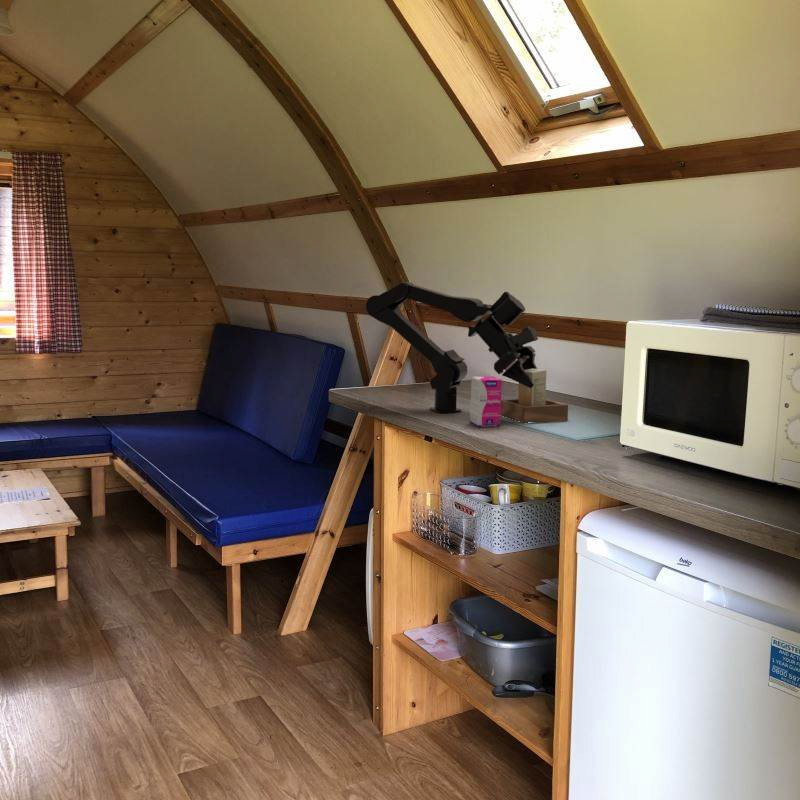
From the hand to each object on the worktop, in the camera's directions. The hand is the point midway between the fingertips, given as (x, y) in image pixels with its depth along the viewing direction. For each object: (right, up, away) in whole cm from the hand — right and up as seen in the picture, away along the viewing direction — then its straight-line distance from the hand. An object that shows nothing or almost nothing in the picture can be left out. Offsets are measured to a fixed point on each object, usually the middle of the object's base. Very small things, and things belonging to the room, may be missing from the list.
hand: (537, 384), depth 221 cm
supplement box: (-14, -10, -8) cm, 19 cm away
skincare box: (-1, -9, +2) cm, 9 cm away
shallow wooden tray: (-1, -8, +2) cm, 9 cm away
